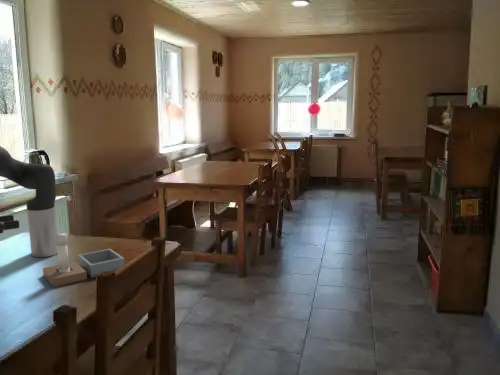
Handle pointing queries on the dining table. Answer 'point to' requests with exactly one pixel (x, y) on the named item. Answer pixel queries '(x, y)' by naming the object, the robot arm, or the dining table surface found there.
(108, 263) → the parts tray
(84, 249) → the dining table surface
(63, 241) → the fuse
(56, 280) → the block
